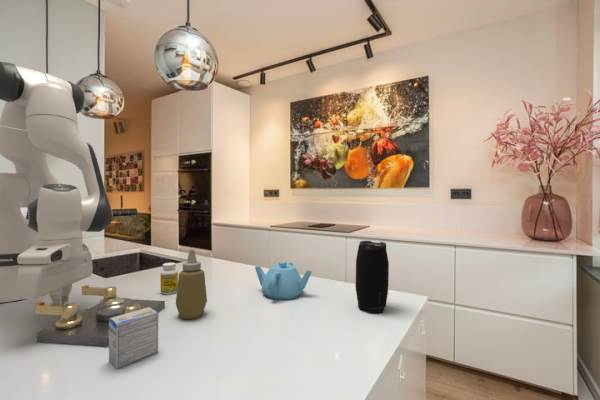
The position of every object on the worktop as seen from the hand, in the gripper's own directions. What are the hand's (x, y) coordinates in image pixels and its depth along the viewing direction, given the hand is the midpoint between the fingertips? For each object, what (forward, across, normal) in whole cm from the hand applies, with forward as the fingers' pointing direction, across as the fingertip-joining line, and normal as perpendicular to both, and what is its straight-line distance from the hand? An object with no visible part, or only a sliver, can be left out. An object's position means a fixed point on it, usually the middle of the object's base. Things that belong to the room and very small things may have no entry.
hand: (60, 304), depth 73 cm
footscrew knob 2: (+3, -9, +4) cm, 10 cm away
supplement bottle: (+5, -24, +18) cm, 30 cm away
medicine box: (+6, +16, +25) cm, 30 cm away
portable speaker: (+6, -7, +82) cm, 82 cm away
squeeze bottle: (+6, -5, +30) cm, 31 cm away
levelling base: (+5, -1, +11) cm, 12 cm away
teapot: (+6, -22, +56) cm, 60 cm away
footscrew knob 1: (+3, +4, +2) cm, 6 cm away
